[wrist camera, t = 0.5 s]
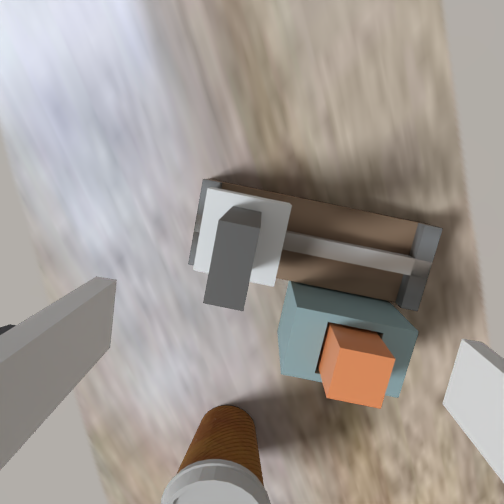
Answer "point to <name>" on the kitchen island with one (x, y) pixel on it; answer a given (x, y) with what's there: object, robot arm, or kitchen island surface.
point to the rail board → (342, 231)
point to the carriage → (239, 244)
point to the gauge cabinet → (345, 313)
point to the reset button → (354, 365)
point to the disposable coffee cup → (220, 463)
